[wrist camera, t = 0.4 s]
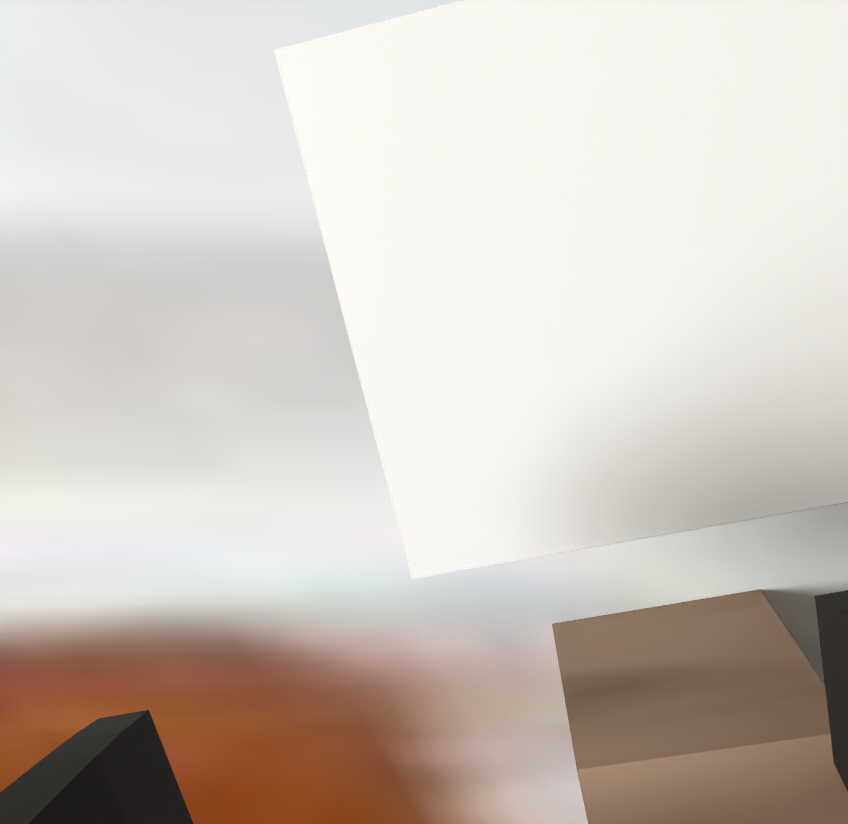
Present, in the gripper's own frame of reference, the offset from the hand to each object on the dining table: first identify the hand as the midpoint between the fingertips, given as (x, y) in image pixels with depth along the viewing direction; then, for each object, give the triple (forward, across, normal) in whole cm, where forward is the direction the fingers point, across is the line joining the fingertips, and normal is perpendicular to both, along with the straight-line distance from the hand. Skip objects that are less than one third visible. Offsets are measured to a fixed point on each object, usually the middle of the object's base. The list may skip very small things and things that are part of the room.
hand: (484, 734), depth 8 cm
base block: (+10, -3, -3) cm, 11 cm away
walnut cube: (+10, -3, +8) cm, 13 cm away
